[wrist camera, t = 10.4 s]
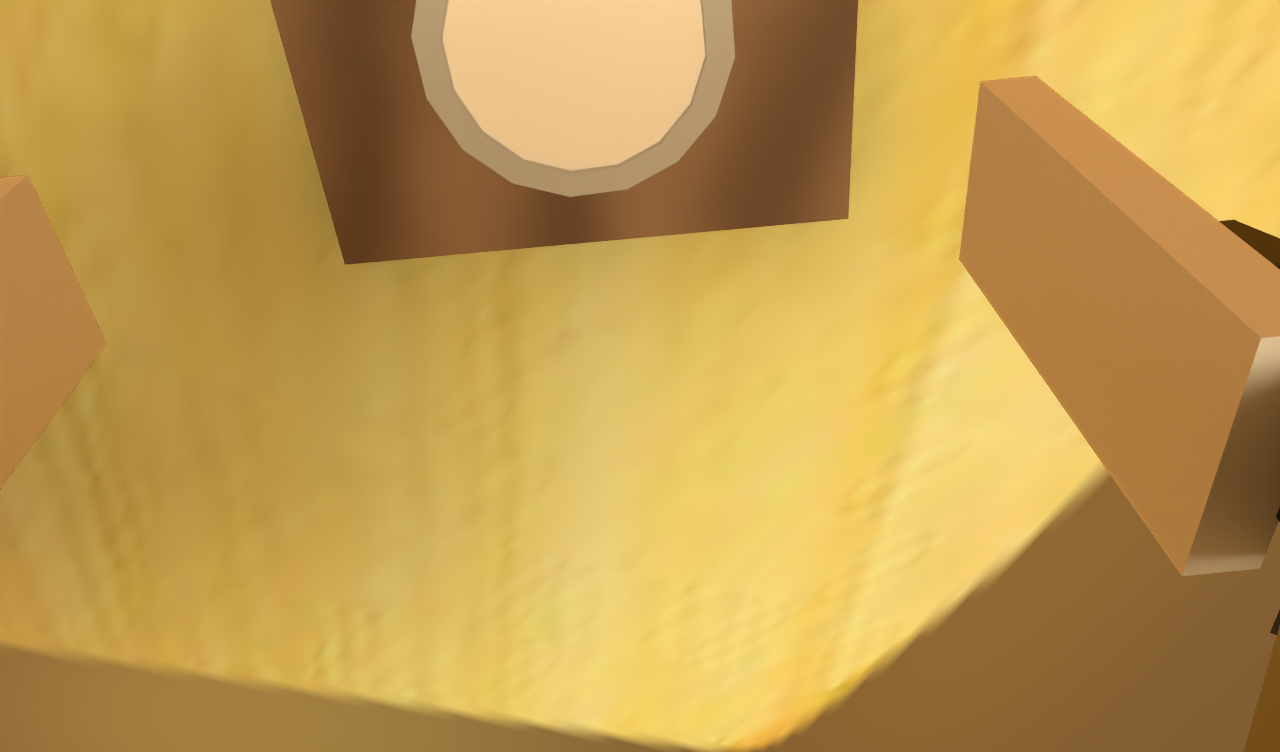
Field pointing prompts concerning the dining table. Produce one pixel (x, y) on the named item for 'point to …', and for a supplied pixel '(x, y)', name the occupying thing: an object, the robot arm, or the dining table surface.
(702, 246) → the dining table surface
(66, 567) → the dining table surface
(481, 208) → the serving board
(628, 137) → the beige cylinder
